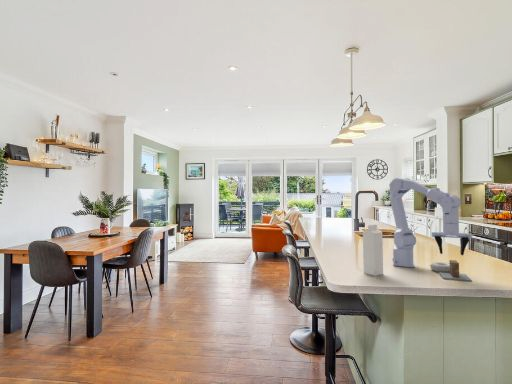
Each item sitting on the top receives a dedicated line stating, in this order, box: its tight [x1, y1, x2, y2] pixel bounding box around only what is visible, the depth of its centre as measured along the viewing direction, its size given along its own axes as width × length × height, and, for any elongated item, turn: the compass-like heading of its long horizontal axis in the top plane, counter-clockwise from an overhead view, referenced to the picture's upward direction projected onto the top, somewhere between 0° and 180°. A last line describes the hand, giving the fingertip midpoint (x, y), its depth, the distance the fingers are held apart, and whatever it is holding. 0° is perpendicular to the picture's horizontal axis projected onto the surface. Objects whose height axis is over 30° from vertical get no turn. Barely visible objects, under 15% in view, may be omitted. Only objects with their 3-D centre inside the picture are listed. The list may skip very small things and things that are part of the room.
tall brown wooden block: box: [449, 259, 460, 278], centre depth 125 cm, size 2×6×6 cm, turn 155°
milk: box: [362, 224, 384, 277], centre depth 133 cm, size 6×6×22 cm
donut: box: [429, 261, 450, 273], centre depth 136 cm, size 10×4×10 cm
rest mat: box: [438, 272, 473, 282], centre depth 125 cm, size 10×10×1 cm
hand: (451, 254), depth 128 cm, fingers open, 7 cm apart
